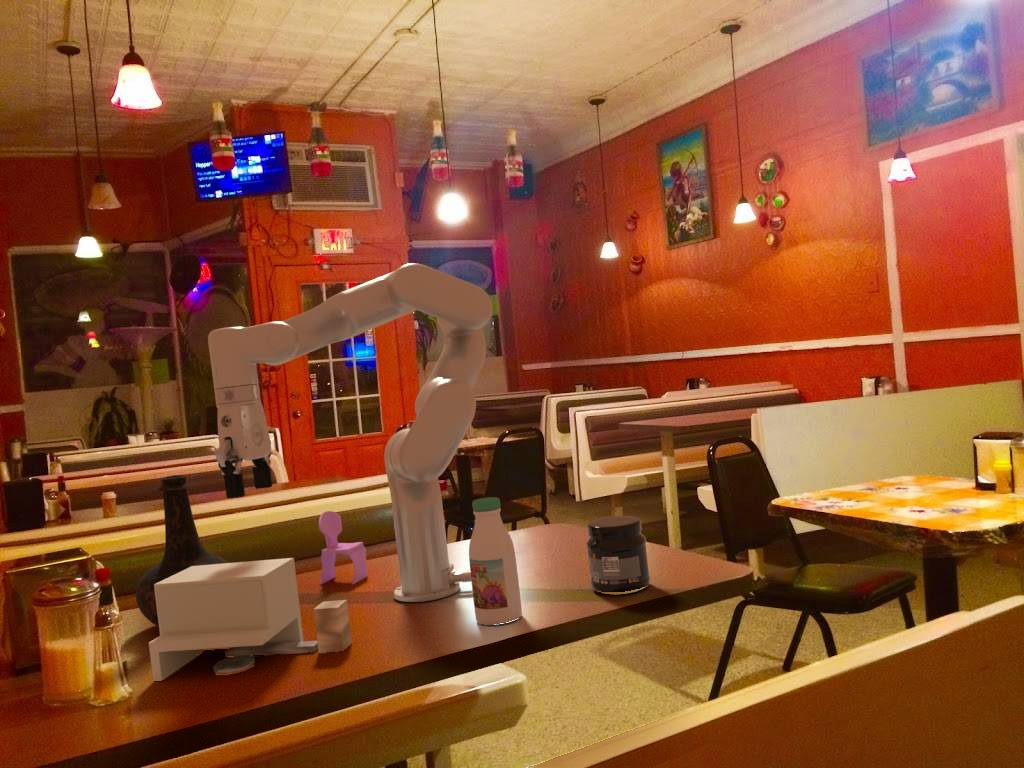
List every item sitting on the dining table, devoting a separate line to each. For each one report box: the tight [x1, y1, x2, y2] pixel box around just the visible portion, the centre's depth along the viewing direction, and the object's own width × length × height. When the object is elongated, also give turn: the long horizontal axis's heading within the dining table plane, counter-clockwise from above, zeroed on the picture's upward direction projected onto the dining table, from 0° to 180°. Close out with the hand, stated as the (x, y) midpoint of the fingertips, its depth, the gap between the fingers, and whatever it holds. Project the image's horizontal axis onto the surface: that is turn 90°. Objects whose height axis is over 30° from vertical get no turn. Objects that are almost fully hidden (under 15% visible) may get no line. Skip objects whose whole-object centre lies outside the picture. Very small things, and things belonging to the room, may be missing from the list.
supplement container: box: [585, 515, 651, 592], centre depth 142 cm, size 10×10×12 cm
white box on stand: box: [148, 557, 305, 682], centre depth 126 cm, size 18×14×14 cm
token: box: [212, 655, 256, 674], centre depth 123 cm, size 6×6×1 cm
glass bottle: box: [135, 474, 230, 628], centre depth 152 cm, size 18×18×28 cm
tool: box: [224, 599, 353, 657], centre depth 128 cm, size 20×4×7 cm, turn 82°
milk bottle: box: [468, 496, 523, 626], centre depth 132 cm, size 8×8×20 cm
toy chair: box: [318, 510, 369, 586], centre depth 171 cm, size 8×9×15 cm
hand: (250, 492), depth 143 cm, fingers open, 9 cm apart
